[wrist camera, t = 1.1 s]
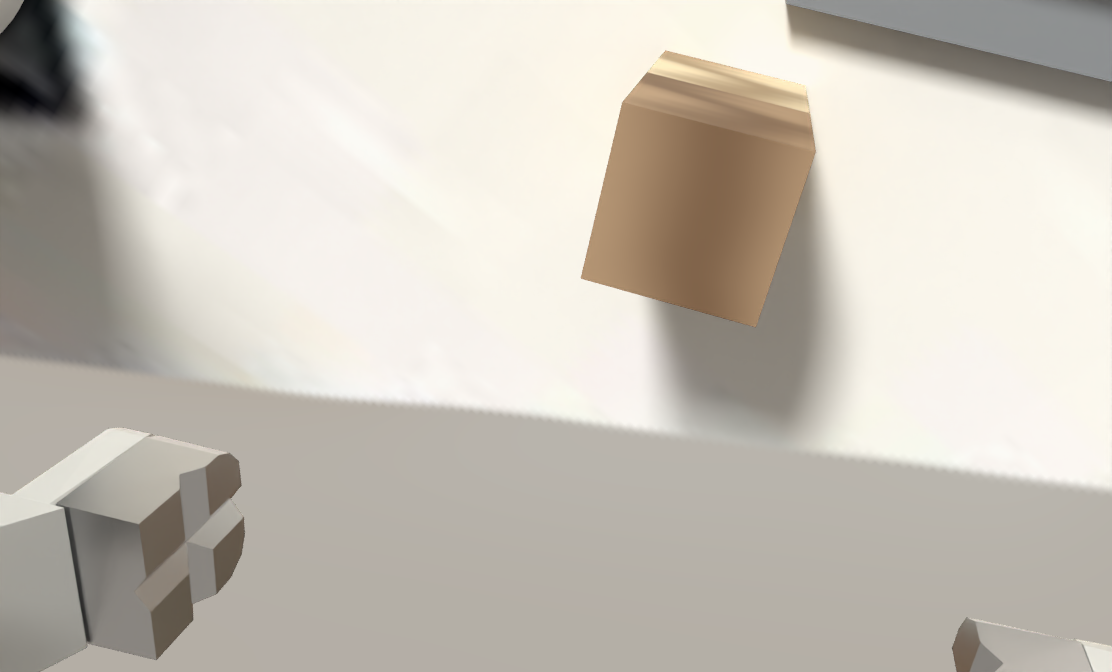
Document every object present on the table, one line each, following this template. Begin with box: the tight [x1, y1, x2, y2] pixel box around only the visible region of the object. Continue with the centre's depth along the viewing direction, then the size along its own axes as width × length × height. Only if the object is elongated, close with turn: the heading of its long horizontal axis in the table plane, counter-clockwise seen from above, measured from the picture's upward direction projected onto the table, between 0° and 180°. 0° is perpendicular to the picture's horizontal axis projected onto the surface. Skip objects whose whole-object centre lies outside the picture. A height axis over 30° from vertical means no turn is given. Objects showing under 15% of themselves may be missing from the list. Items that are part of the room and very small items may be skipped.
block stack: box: [581, 51, 816, 327], centre depth 29 cm, size 5×5×10 cm
